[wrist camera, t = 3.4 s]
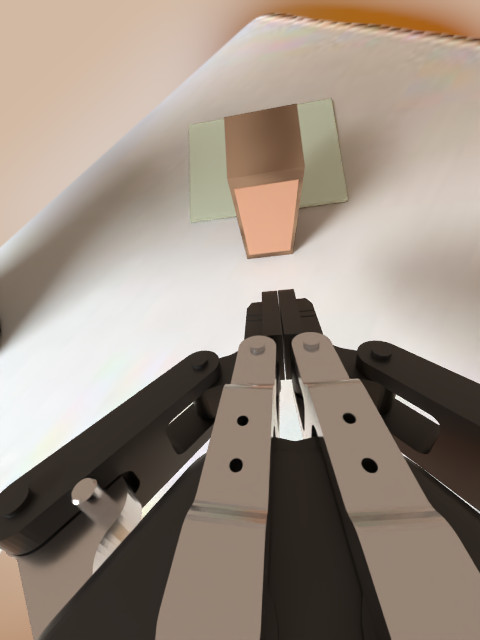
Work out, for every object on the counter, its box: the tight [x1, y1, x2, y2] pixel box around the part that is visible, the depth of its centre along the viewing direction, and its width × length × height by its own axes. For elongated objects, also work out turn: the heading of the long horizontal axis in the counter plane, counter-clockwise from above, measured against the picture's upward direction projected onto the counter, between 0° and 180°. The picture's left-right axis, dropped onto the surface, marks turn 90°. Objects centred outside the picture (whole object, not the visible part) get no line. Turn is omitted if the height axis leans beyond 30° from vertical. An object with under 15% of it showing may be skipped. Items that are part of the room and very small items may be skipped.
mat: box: [189, 98, 348, 223], centre depth 30 cm, size 18×14×1 cm
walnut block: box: [224, 104, 305, 259], centre depth 22 cm, size 5×5×12 cm
